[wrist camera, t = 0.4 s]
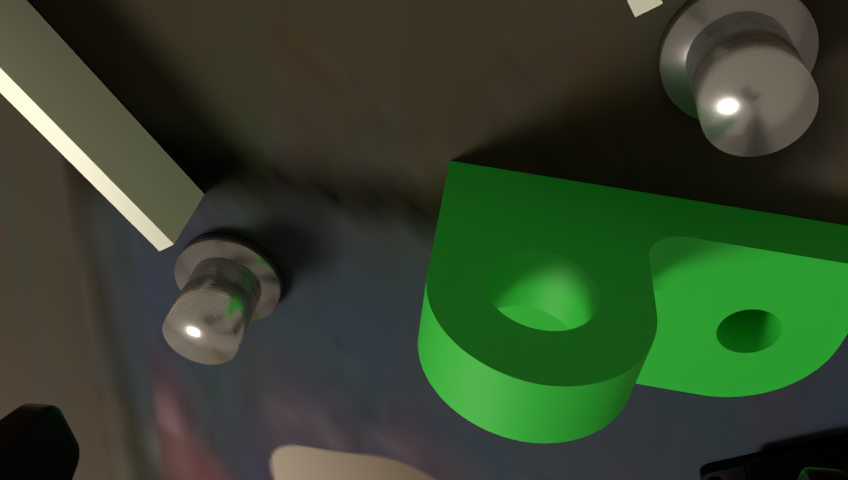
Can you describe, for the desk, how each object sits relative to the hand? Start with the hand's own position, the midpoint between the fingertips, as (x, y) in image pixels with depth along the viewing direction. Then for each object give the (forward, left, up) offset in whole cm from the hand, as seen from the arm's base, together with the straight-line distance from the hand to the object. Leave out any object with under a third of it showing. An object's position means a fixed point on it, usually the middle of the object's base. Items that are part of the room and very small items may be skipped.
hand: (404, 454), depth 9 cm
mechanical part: (-9, 0, -14) cm, 16 cm away
